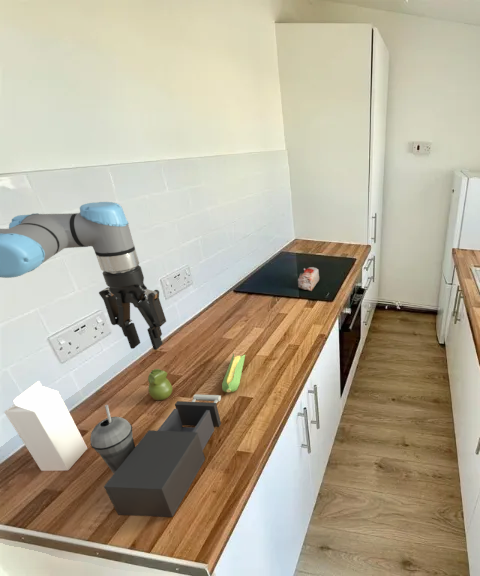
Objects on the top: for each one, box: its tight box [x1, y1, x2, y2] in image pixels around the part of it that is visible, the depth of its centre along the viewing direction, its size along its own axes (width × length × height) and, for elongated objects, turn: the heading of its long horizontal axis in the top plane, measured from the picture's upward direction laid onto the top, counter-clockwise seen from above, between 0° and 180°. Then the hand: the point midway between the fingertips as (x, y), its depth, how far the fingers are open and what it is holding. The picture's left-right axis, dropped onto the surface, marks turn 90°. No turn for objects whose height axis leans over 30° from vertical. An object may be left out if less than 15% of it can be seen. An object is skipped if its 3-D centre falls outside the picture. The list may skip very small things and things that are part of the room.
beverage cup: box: [89, 404, 136, 475], centre depth 72 cm, size 7×7×20 cm
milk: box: [4, 380, 88, 472], centre depth 73 cm, size 6×6×22 cm
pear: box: [147, 368, 173, 401], centre depth 95 cm, size 6×5×10 cm
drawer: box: [157, 393, 222, 451], centre depth 84 cm, size 18×10×8 cm, turn 179°
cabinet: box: [103, 429, 206, 518], centre depth 72 cm, size 13×11×9 cm
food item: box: [297, 266, 320, 292], centre depth 168 cm, size 14×8×10 cm, turn 173°
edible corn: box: [221, 353, 246, 393], centre depth 106 cm, size 5×20×5 cm, turn 12°
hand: (146, 346), depth 89 cm, fingers open, 5 cm apart
